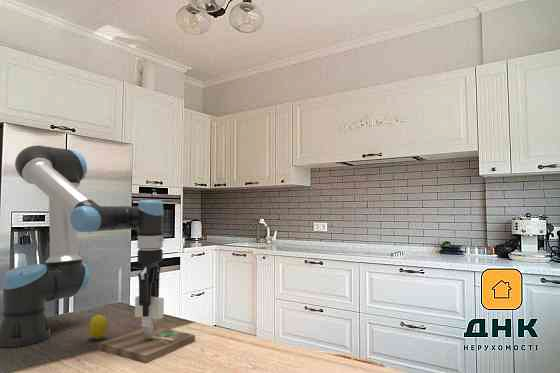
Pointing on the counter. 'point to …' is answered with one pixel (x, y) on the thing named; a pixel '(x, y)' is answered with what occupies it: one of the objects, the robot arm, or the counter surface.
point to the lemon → (98, 326)
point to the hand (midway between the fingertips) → (148, 324)
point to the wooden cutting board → (146, 344)
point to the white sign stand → (152, 315)
